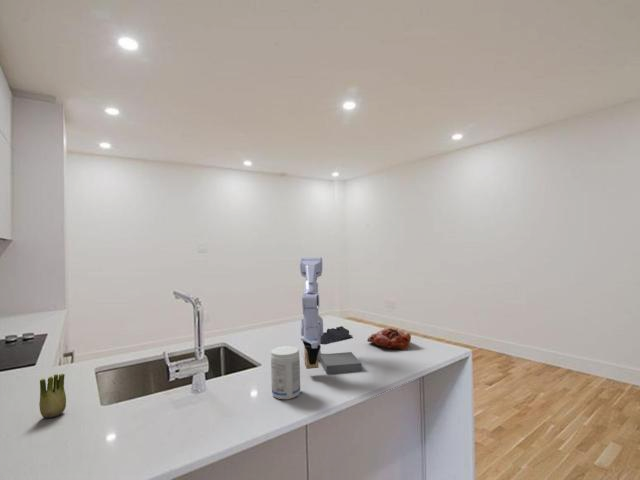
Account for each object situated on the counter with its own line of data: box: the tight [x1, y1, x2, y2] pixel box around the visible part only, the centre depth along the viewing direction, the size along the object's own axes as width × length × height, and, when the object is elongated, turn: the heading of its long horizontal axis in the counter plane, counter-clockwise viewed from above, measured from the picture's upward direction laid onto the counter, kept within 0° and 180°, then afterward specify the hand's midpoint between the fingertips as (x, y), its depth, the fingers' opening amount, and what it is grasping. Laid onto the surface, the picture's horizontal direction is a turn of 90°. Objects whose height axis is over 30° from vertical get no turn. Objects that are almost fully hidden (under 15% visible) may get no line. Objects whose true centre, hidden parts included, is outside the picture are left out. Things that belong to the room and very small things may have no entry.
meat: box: [366, 327, 412, 351], centre depth 166 cm, size 21×21×10 cm
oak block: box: [304, 349, 319, 370], centre depth 128 cm, size 4×4×6 cm
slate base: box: [319, 351, 362, 375], centre depth 139 cm, size 14×14×3 cm
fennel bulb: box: [38, 373, 67, 419], centre depth 101 cm, size 6×5×12 cm
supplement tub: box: [270, 345, 301, 400], centre depth 113 cm, size 10×10×15 cm
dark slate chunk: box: [320, 325, 354, 345], centre depth 180 cm, size 15×22×5 cm
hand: (311, 361), depth 128 cm, fingers closed on oak block, 4 cm apart
